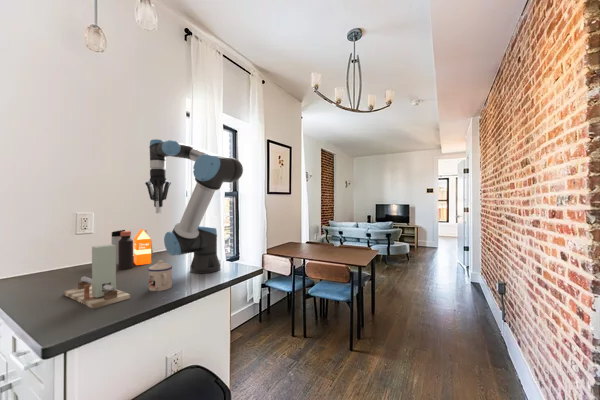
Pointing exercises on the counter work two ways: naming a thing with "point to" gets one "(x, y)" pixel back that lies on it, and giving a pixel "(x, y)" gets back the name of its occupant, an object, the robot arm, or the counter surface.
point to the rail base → (85, 297)
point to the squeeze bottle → (151, 243)
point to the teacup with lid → (160, 276)
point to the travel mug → (116, 243)
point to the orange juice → (142, 248)
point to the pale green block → (103, 268)
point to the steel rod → (104, 286)
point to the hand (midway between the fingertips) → (158, 213)
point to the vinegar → (125, 251)
